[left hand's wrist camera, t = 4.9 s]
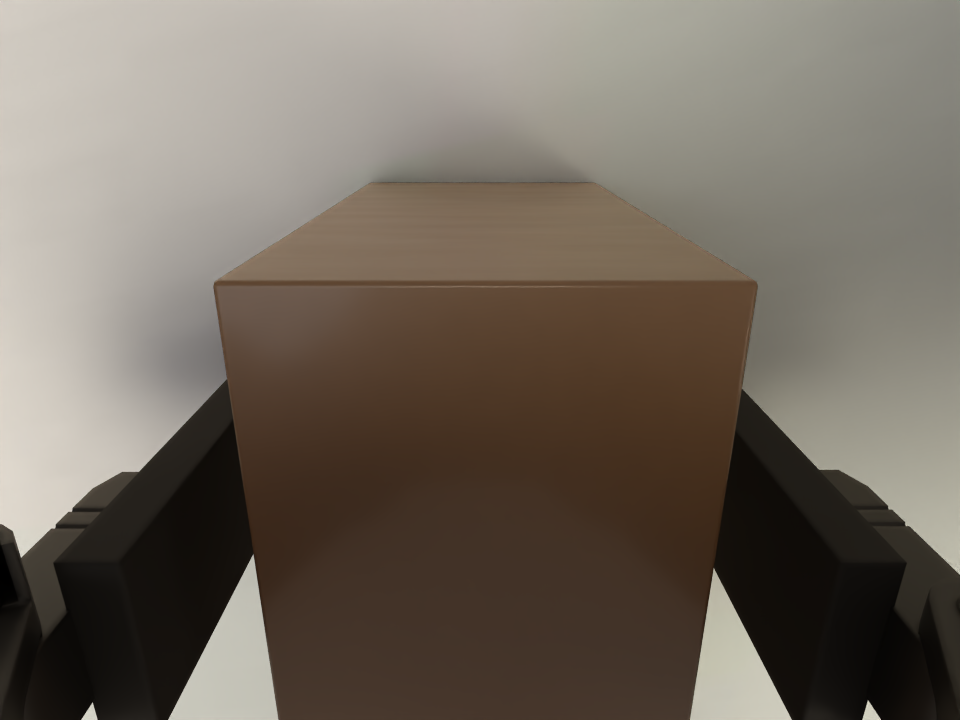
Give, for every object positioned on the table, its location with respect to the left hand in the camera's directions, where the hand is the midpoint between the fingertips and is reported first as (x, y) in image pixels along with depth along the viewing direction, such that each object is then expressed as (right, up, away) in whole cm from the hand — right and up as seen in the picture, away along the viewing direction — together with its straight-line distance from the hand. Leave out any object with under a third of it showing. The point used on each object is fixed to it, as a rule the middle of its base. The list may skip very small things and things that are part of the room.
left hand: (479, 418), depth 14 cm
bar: (0, -32, +13) cm, 34 cm away
